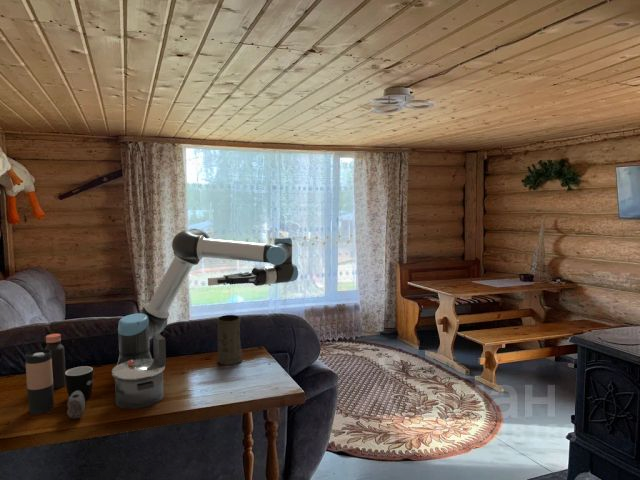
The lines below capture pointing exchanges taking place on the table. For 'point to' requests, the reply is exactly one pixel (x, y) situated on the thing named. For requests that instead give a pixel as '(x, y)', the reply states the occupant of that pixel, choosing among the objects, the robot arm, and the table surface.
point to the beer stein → (229, 339)
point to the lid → (144, 363)
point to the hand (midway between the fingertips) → (208, 281)
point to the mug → (79, 380)
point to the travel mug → (39, 381)
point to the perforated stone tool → (76, 404)
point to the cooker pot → (139, 392)
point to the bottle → (57, 359)
